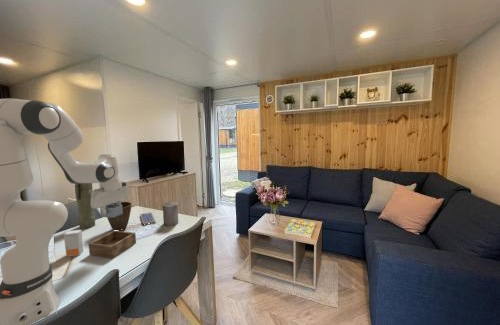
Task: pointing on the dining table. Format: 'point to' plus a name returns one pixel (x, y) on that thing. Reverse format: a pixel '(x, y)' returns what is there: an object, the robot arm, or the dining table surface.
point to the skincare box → (73, 243)
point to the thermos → (85, 205)
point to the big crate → (112, 244)
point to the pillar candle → (170, 213)
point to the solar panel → (147, 218)
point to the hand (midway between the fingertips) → (111, 211)
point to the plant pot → (121, 217)
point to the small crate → (112, 211)
